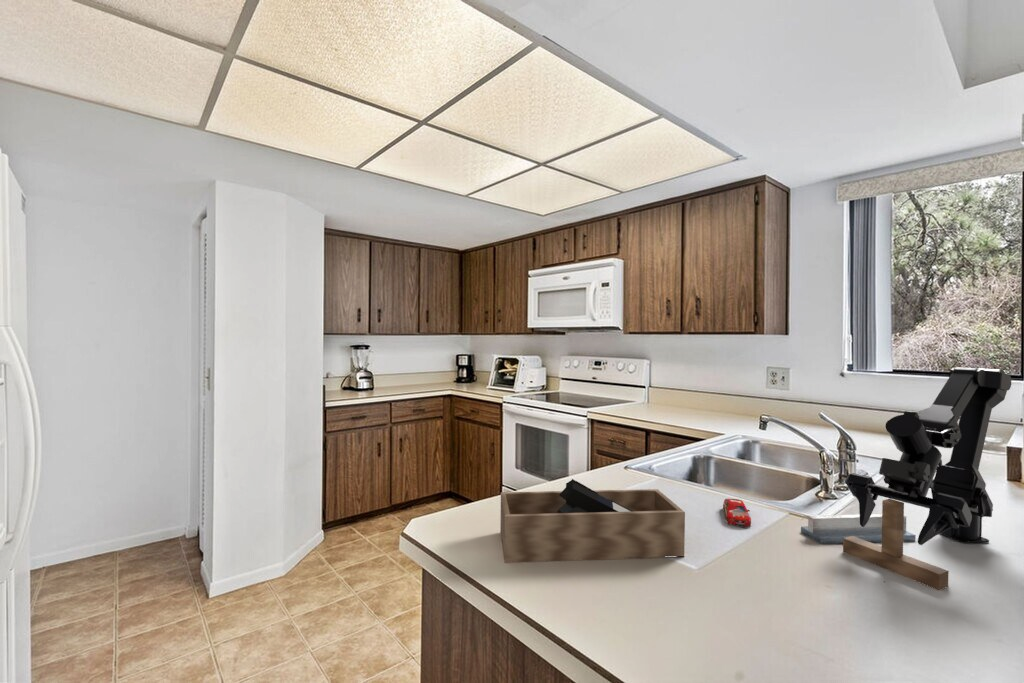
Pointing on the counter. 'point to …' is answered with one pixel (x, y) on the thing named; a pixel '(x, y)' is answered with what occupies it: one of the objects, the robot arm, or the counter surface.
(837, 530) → the ridge stand
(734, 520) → the race car
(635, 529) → the box
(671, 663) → the counter surface
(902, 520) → the wooden t-shaped stand
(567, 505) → the toy gun
